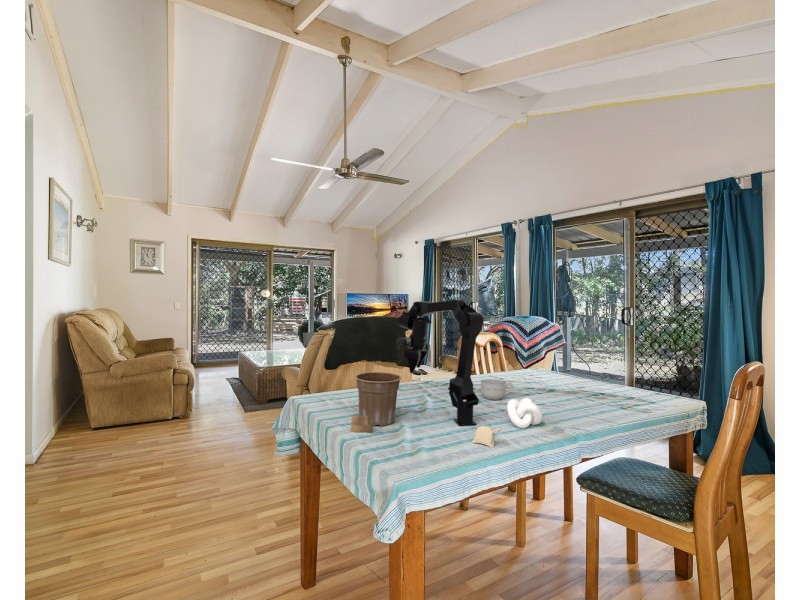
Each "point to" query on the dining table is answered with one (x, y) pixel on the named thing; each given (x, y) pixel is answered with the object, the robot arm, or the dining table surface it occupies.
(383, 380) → the plant pot
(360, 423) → the wooden block
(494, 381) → the teacup
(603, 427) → the dining table surface
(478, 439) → the decorative ornament
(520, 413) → the white knot sculpture
